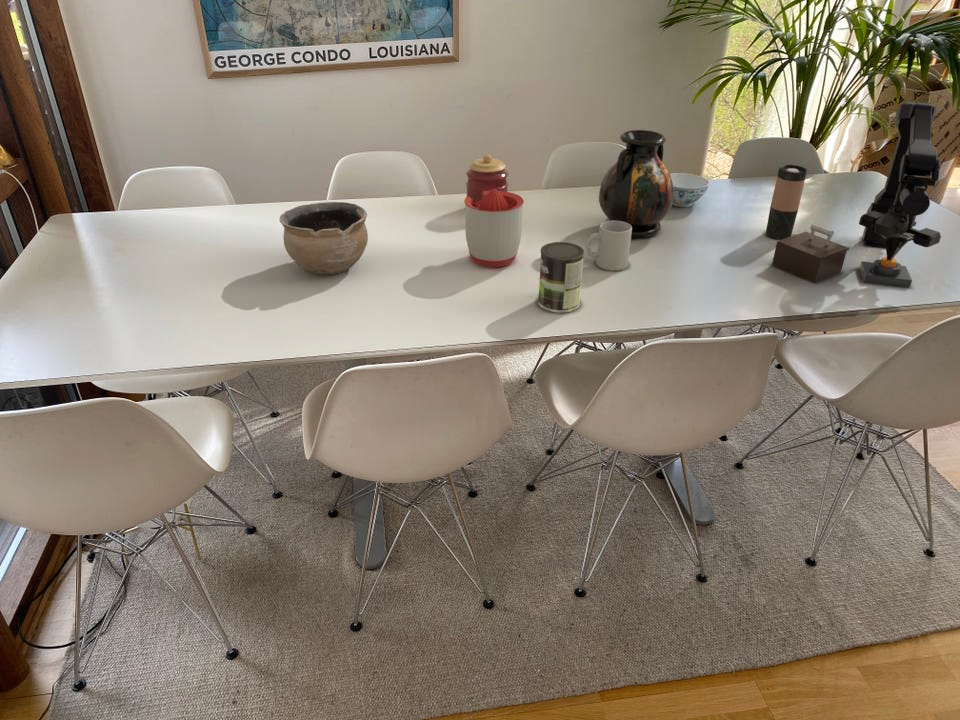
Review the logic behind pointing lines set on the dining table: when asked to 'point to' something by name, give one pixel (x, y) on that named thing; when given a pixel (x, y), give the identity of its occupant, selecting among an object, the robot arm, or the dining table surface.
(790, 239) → the lid
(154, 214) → the dining table surface
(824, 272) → the brown lidded box
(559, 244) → the coffee can
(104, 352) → the dining table surface
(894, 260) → the release button
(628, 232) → the mug
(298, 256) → the ceramic bowl
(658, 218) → the amphora vase
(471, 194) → the kitchen canister
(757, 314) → the dining table surface
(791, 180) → the travel mug
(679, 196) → the chinaware
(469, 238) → the citrus juicer
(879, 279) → the control block
